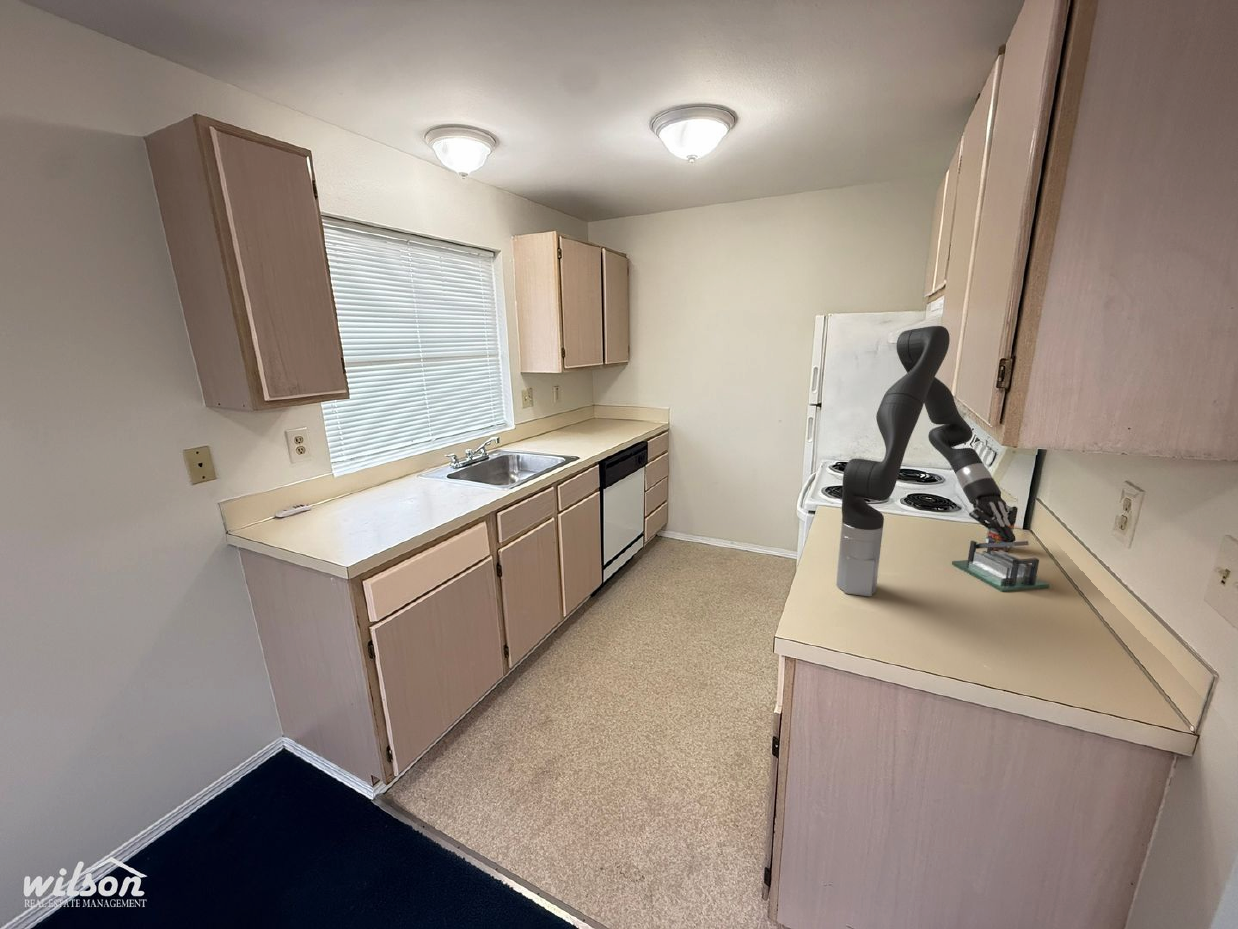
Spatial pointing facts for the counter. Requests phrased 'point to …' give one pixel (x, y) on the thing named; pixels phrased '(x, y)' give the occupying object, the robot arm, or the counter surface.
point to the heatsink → (1002, 569)
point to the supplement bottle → (997, 538)
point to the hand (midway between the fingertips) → (1010, 542)
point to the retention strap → (1001, 544)
